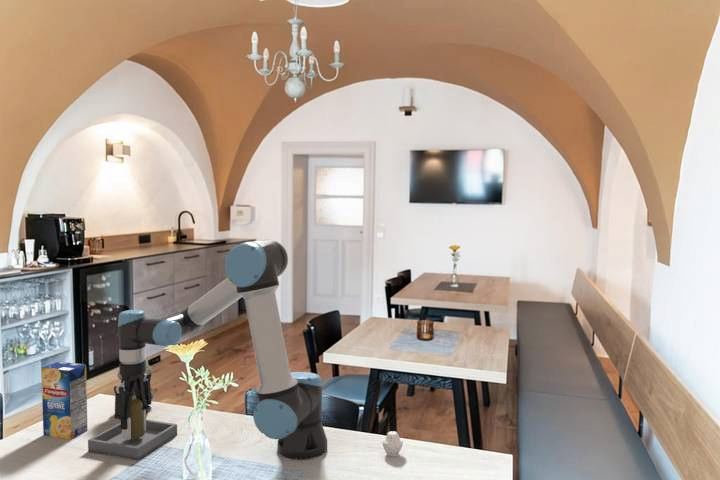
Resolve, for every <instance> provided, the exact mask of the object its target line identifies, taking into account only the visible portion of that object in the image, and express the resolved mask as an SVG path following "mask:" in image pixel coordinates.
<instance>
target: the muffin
mask: <svg viewBox="0 0 720 480" xmlns="http://www.w3.org/2000/svg"><path fill="white" fill-rule="evenodd" d="M381 443H382V446H383V449H384V451H385V453H386V455H387V456H388V457H392V458H393V457H398V455H399V453H400V451H401V449H403V448H402V447H403V445H404V442H403V440H402V439H401V437H400V435H399V433H398V432H397V431H389V432H387V433H386V436H385V437H384V438H383V440H382V442H381Z"/></svg>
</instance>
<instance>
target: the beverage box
mask: <svg viewBox="0 0 720 480" xmlns="http://www.w3.org/2000/svg"><path fill="white" fill-rule="evenodd" d="M40 368H41V370H40V371H41V401H42V403H41V404H42V430H43V431H42V433H43V434H42V435H43V436H45V437H46V436H47V437H54V438H59V439H64V440H65V439H66V440H73V439H75V438H76V437H78V436H80V435H82V434H84V433H86V432H88V431H89V430H88V400H87V399H88V398H87V397H88V396H87V395H88V393H87V391H88V390H87V364H85V363H76V362H75V363H74V362H66V361H57V362H54V363H51V364H48V365H45V366H42V367H40Z"/></svg>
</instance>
